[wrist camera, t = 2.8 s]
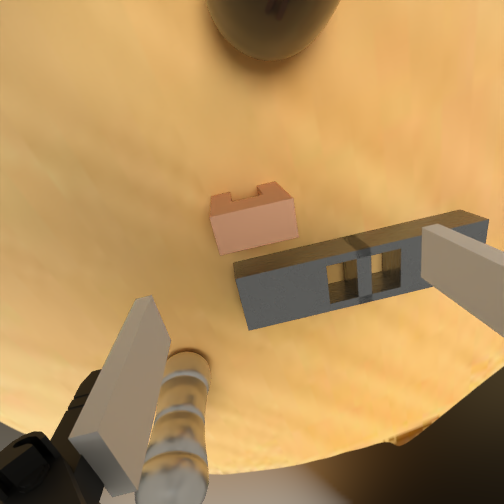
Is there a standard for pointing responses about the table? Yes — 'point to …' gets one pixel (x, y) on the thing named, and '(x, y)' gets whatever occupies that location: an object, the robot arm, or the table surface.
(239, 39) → the pump dispenser
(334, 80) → the table surface
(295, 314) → the rail
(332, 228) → the table surface
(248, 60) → the table surface
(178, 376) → the plastic bottle
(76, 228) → the table surface
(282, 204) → the clip
